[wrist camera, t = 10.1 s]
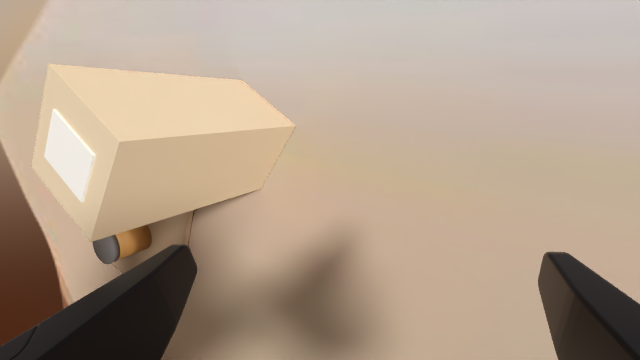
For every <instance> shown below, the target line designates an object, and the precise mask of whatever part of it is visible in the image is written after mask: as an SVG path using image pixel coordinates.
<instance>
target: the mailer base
mask: <svg viewBox="0 0 640 360" xmlns="http://www.w3.org/2000/svg"><path fill="white" fill-rule="evenodd" d="M193 211H194V210H192V211H188V212H185V213H182V214H179V215H176V216H172V217H169V218H166V219H163V220H160V221H157V222H153V223H150V224H147V225H144V226H141V227H137V228H134V229H131V230H128V231H125V232H121V233H118V234H115V235H112V236H109V237H106V238H102V239H99V240H96V241H93V247H94V250H95V253H96V255H97V256H98V258H99V259H100V260H101V261H102V262H103V263H105V264H110V263H111V264H112V265H114V266H115V267H116V268H117V269H118V270H120V271H121V272H122V273H125V272H127V271H128V270H130V269H132V268H133V267H135V266H137V265H138V264H140V263H142V262H143V261H145V260H147V259H148V258H150V257H152V256H153V255H155V254H157V253H159V252H160V251H162V250H164V249H165V248H167V247H169V246H170V245H173V244H185V245H187V246H188V242H189V236H190V230H191V224H192V218H193Z"/></svg>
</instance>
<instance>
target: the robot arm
mask: <svg viewBox="0 0 640 360" xmlns="http://www.w3.org/2000/svg"><path fill="white" fill-rule="evenodd" d="M196 274H197V265H196V263H195V260H194V258H193V256H192V253H191V251H190V248H189V247H188V246H187V245H185V244H173V245H170V246H169V247H167V248H165V249H164V250H162V251H160V252H159V253H157V254H155V255H153V256H152V257H150V258H148V259H147V260H145V261H143V262H142V263H140V264H138V265H137V266H135V267H133V268H132V269H130V270H128V271H127V272H125V273H123V274H122V275H120V276H118V277H117V278H115V279H113V280H112V281H110V282H108V283H106V284H105V285H103V286H101V287H100V288H98V289H96V290H95V291H93V292H91V293H90V294H88V295H86V296H85V297H83V298H81V299H80V300H78V301H76V302H75V303H73V304H71V305H70V306H68V307H66V308H64V309H63V310H61V311H59V312H58V313H56V314H54V315H53V316H51V317H49V318H48V319H46V320H44V321H43V322H41V323H40V324H39V325H36V326H34V327H32V328H31V329H29V330H27V331H26V332H24V333H22V334H21V335H19V336H17V337H16V338H14V339H12V340H10V341H9V342H7V343H5V344H3V345H2V346H0V360H161V358H162V356H163V354H164V352H165V350H166V348H167V346H168V344H169V342H170V339H171V337H172V335H173V333H174V331H175V329H176V327H177V325H178V322H179V320H180V317H181V315H182V312H183V309H184V307H185V304H186V301H187V298H188V296H189V293H190V290H191V288H192V285H193V282H194V280H195V277H196ZM538 286H539V291H540V295H541V298H542V302H543V306H544V310H545V314H546V317H547V321H548V325H549V329H550V333H551V336H552V340H553V344H554V347H555V351H556V354H557V357H558V360H640V304H639V303H637V302H636V301H634V300H633V299H632V298H630V297H629V296H627V295H626V294H625V293H623V292H622V291H620V290H619V289H618V288H616V287H615V286H613V285H612V284H611V283H609V282H608V281H606V280H605V279H604V278H602V277H601V276H599V275H598V274H597V273H595V272H594V271H592V270H591V269H590V268H588V267H587V266H585V265H584V264H583V263H581V262H580V261H578V260H577V259H576V258H574V257H573V256H571V255H570V254H568V253H565V252H547V253H545V254H544V256H543V260H542V264H541V269H540V273H539V278H538Z"/></svg>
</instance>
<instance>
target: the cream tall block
mask: <svg viewBox="0 0 640 360" xmlns="http://www.w3.org/2000/svg"><path fill="white" fill-rule="evenodd" d="M295 126H296V125H294V124H293V123H292V122H291V121H290V120H288V119H287V118H286V117H285V116H284V115H283V114H281V113H280V112H279V111H278V110H277V109H275V108H274V107H273V106H272V105H271V104H270V103H268V102H267V101H266V100H265V99H264V98H262V97H261V96H260V95H259V94H258V93H257V92H255V91H254V90H253V89H252V88H251V87H249V86H248V85H247V84H246V83H245V82H244V81H242V80H233V79H221V78H209V77H197V76H185V75H173V74H162V73H150V72H138V71H126V70H114V69H102V68H91V67H79V66H67V65H55V64H48V67H47V74H46V80H45V86H44V92H43V98H42V104H41V111H40V117H39V123H38V129H37V135H36V142H35V148H34V154H33V160H32V166H31V167H32V168H33V169H34V171H35V172H36V173H37V175H38V176H39V177H40V179H41V180H42V181H43V182H44V184H45V185H46V186H47V188H48V189H49V190H50V191H51V193H52V194H53V195H54V197H55V198H56V199H57V200H58V202H59V203H60V204H61V206H62V207H63V208H64V209H65V211H66V212H67V213H68V215H69V216H70V217H71V218H72V220H73V221H74V222H75V224H76V225H77V226H78V228H79V229H80V230H81V231H82V233H83V234H84V235H85V237H86V238H87V239H88V240H89V242H93V241H96V240H99V239H102V238H106V237H109V236H112V235H115V234H118V233H121V232H125V231H128V230H131V229H134V228H137V227H141V226H144V225H147V224H150V223H153V222H157V221H160V220H163V219H166V218H169V217H172V216H176V215H179V214H182V213H185V212H188V211H192V210H195V209H198V208H201V207H204V206H207V205H211V204H214V203H217V202H220V201H223V200H227V199H230V198H233V197H236V196H239V195H243V194H246V193H249V192H252V191H255V190H258V189H261V187H262V186H263V184H264V182H265V180H266V178H267V177H268V175H269V173H270V171H271V169H272V168H273V166H274V164H275V162H276V160H277V159H278V157H279V155H280V153H281V151H282V150H283V148H284V146H285V144H286V142H287V141H288V139H289V137H290V135H291V133H292V132H293V130H294V128H295Z"/></svg>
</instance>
